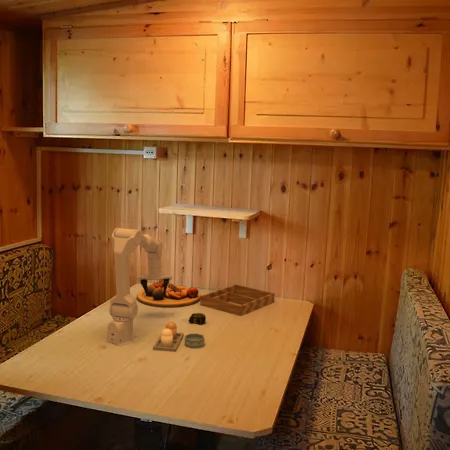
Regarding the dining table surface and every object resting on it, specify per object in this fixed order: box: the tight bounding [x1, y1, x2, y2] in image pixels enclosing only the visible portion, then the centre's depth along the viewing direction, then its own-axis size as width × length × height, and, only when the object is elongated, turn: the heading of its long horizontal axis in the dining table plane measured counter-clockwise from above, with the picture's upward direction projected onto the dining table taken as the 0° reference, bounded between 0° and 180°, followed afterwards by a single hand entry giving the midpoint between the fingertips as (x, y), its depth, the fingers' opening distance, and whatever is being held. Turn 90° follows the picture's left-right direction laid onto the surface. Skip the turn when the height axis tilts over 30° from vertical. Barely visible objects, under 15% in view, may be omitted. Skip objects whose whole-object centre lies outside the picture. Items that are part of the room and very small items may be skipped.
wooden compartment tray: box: [199, 284, 275, 317], centre depth 256 cm, size 29×24×4 cm
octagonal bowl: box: [184, 333, 205, 349], centre depth 201 cm, size 8×8×4 cm
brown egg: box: [164, 321, 178, 340], centre depth 205 cm, size 4×4×7 cm
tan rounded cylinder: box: [160, 328, 173, 348], centre depth 198 cm, size 4×4×7 cm
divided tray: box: [152, 332, 185, 353], centre depth 202 cm, size 16×9×2 cm, turn 174°
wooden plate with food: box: [136, 280, 202, 308], centre depth 262 cm, size 32×32×8 cm
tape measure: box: [188, 312, 206, 325], centre depth 227 cm, size 7×7×4 cm
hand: (155, 295), depth 230 cm, fingers open, 7 cm apart
